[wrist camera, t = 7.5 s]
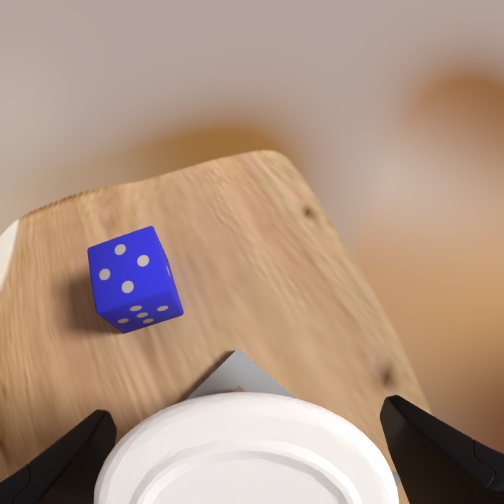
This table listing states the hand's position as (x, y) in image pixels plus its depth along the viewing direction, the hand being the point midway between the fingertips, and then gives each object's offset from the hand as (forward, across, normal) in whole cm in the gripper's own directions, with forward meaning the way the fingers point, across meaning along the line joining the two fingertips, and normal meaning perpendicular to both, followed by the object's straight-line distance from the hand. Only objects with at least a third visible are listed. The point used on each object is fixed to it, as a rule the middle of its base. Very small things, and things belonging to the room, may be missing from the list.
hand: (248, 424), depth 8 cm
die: (+15, +7, +2) cm, 17 cm away
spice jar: (+4, 0, +6) cm, 8 cm away
